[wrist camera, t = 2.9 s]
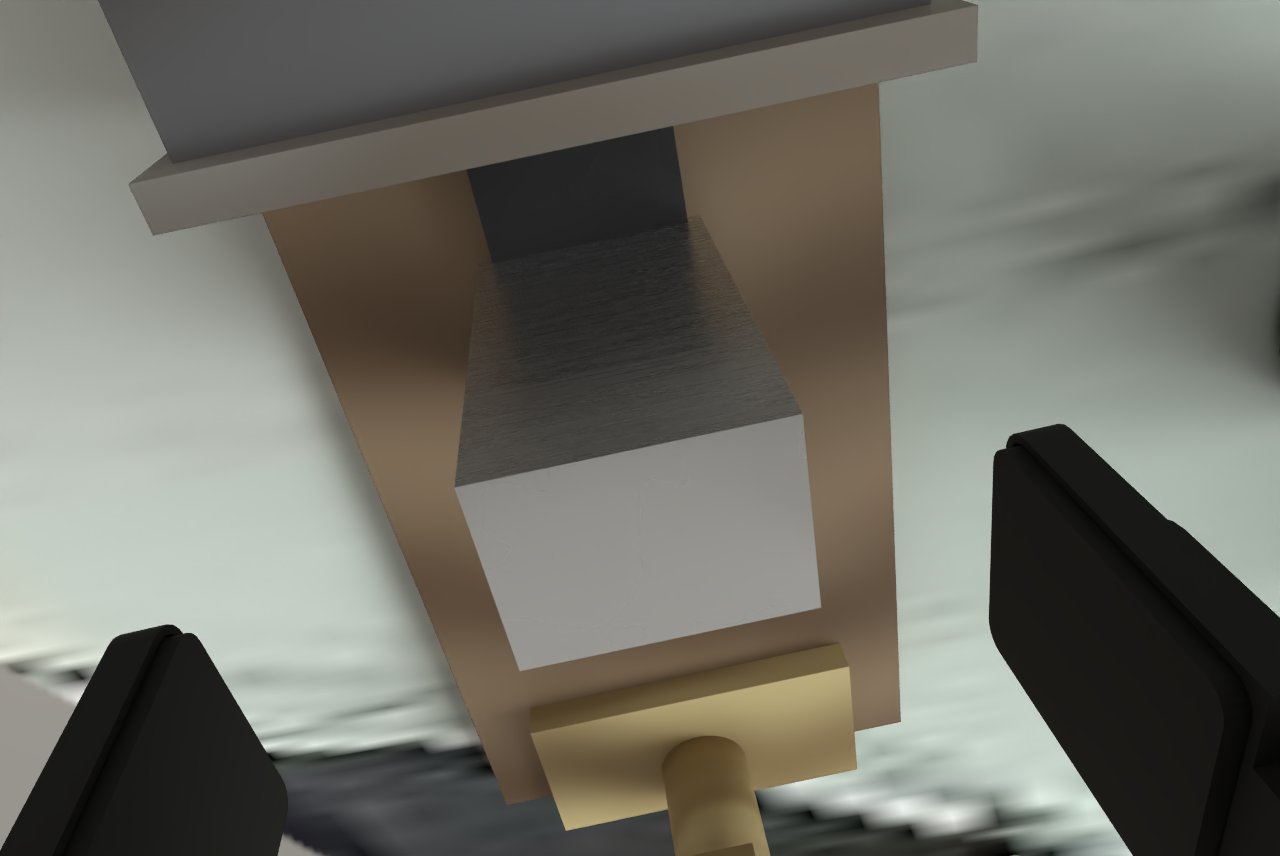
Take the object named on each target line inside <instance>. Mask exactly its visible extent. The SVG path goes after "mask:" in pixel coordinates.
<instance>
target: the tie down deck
mask: <svg viewBox="0 0 1280 856" xmlns="http://www.w3.org/2000/svg"><path fill="white" fill-rule="evenodd" d="M98 1H99V3H100V6H101V8H102V10H103V12H104V14H105V17H106V19H107V21H108V23H109V25H110V28H111V30H112V32H113V34H114V36H115V39H116V41H117V43H118V45H119V47H120V50H121V52H122V54H123V56H124V58H125V61H126V63H127V65H128V67H129V69H130V72H131V74H132V76H133V78H134V80H135V83H136V85H137V87H138V89H139V91H140V94H141V96H142V98H143V100H144V102H145V104H146V107H147V109H148V111H149V113H150V115H151V118H152V120H153V122H154V124H155V126H156V129H157V131H158V133H159V135H160V137H161V140H162V142H163V144H164V146H165V148H166V151H167V154H166V155H165V156H163V157H162V158H161V159H160V160H158V161H157V162H156V163H155V164H153V165H152V166H151V167H150V168H148V169H147V170H146V171H144V172H143V173H142V174H141V175H139V176H138V177H137V178H136V179H134V180H133V181H132V182H131V183H129V184H128V185H129V187H130V189H131V191H132V193H133V195H134V197H135V199H136V201H137V203H138V205H139V207H140V209H141V211H142V214H143V216H144V218H145V220H146V222H147V224H148V226H149V228H150V230H151V232H152V234H153V235H158V234H163V233H167V232H172V231H177V230H181V229H186V228H191V227H196V226H200V225H205V224H210V223H215V222H219V221H224V220H229V219H234V218H238V217H243V216H248V215H253V214H257V213H262V214H263V216H264V218H265V221H266V223H267V226H268V228H269V230H270V233H271V235H272V238H273V240H274V243H275V245H276V247H277V250H278V252H279V255H280V257H281V259H282V262H283V264H284V267H285V269H286V272H287V274H288V276H289V279H290V281H291V284H292V286H293V288H294V291H295V293H296V296H297V298H298V301H299V303H300V305H301V308H302V310H303V313H304V315H305V317H306V320H307V322H308V325H309V327H310V330H311V332H312V334H313V337H314V339H315V342H316V344H317V347H318V349H319V351H320V354H321V356H322V359H323V361H324V363H325V366H326V368H327V371H328V373H329V376H330V378H331V380H332V383H333V385H334V388H335V390H336V392H337V395H338V397H339V400H340V402H341V405H342V407H343V409H344V412H345V414H346V417H347V419H348V421H349V424H350V426H351V429H352V431H353V434H354V436H355V438H356V441H357V443H358V446H359V448H360V450H361V453H362V455H363V458H364V460H365V463H366V465H367V467H368V470H369V472H370V475H371V477H372V479H373V482H374V484H375V487H376V489H377V492H378V494H379V496H380V499H381V501H382V504H383V506H384V508H385V511H386V513H387V516H388V518H389V521H390V523H391V525H392V528H393V530H394V533H395V535H396V537H397V540H398V542H399V545H400V547H401V550H402V552H403V554H404V557H405V559H406V562H407V564H408V566H409V569H410V571H411V574H412V576H413V579H414V581H415V583H416V586H417V588H418V591H419V593H420V595H421V598H422V600H423V603H424V605H425V608H426V610H427V612H428V615H429V617H430V620H431V622H432V624H433V627H434V629H435V632H436V634H437V637H438V639H439V641H440V644H441V646H442V649H443V651H444V653H445V656H446V658H447V661H448V663H449V666H450V668H451V670H452V673H453V675H454V678H455V680H456V682H457V685H458V687H459V690H460V692H461V695H462V697H463V699H464V702H465V704H466V707H467V709H468V711H469V714H470V716H471V719H472V721H473V724H474V726H475V728H476V731H477V733H478V736H479V738H480V740H481V743H482V745H483V748H484V750H485V753H486V755H487V757H488V760H489V762H490V765H491V767H492V769H493V772H494V774H495V777H496V779H497V782H498V784H499V786H500V789H501V791H502V794H503V796H504V798H505V801H506V803H507V805H509V804H514V803H519V802H523V801H528V800H533V799H538V798H542V797H547V796H552V795H553V796H554V799H555V802H556V805H557V807H558V810H559V813H560V816H561V818H562V821H563V824H564V826H565V829H566V831H567V830H571V829H576V828H581V827H586V826H590V825H595V824H600V823H605V822H609V821H614V820H619V819H623V818H628V817H633V816H638V815H642V814H647V813H652V812H657V811H661V810H666V809H668V812H669V818H670V825H671V831H672V838H673V844H674V851H675V856H770V852H769V848H768V844H767V840H766V836H765V832H764V828H763V824H762V820H761V817H760V813H759V809H758V805H757V801H756V797H755V793H754V791H756V790H761V789H766V788H770V787H775V786H780V785H784V784H789V783H794V782H799V781H803V780H808V779H813V778H818V777H822V776H827V775H832V774H837V773H841V772H846V771H851V770H856V769H857V762H856V749H855V736H854V732H855V731H860V730H864V729H869V728H874V727H879V726H883V725H888V724H893V723H898V722H901V717H900V688H899V660H898V631H897V602H896V574H895V545H894V517H893V488H892V459H891V431H890V402H889V374H888V345H887V316H886V288H885V259H884V230H883V202H882V173H881V145H880V116H879V87H878V82H883V81H888V80H893V79H897V78H902V77H907V76H911V75H916V74H921V73H926V72H930V71H935V70H940V69H945V68H949V67H954V66H959V65H964V64H968V63H973V62H977V21H978V5H976V4H972V3H969V2H965V1H962V0H98ZM670 126H673V128H674V134H675V141H676V147H677V154H678V160H679V167H680V173H681V180H682V186H683V193H684V199H685V206H686V212H687V217H691V216H696V215H700V216H701V218H702V220H703V222H704V224H705V226H706V228H707V230H708V232H709V234H710V236H711V238H712V240H713V241H714V243H715V245H716V247H717V249H718V251H719V253H720V255H721V257H722V259H723V261H724V263H725V265H726V267H727V269H728V270H729V272H730V274H731V276H732V278H733V280H734V282H735V284H736V286H737V288H738V290H739V292H740V294H741V296H742V298H743V299H744V301H745V303H746V305H747V307H748V309H749V311H750V313H751V315H752V317H753V319H754V321H755V323H756V325H757V327H758V328H759V330H760V332H761V334H762V336H763V338H764V340H765V342H766V344H767V346H768V348H769V350H770V352H771V354H772V356H773V358H774V359H775V361H776V363H777V365H778V367H779V369H780V371H781V373H782V375H783V377H784V379H785V381H786V383H787V385H788V387H789V388H790V390H791V392H792V394H793V396H794V398H795V400H796V402H797V404H798V406H799V408H800V410H801V412H802V414H803V422H804V433H805V443H806V454H807V464H808V474H809V485H810V495H811V506H812V516H813V527H814V537H815V548H816V558H817V569H818V579H819V590H820V600H821V608H817V609H812V610H808V611H803V612H798V613H793V614H789V615H784V616H779V617H775V618H770V619H765V620H760V621H756V622H751V623H746V624H741V625H737V626H732V627H727V628H722V629H718V630H713V631H708V632H703V633H699V634H694V635H689V636H685V637H680V638H675V639H670V640H666V641H661V642H656V643H651V644H647V645H642V646H637V647H632V648H628V649H623V650H618V651H613V652H609V653H604V654H599V655H595V656H590V657H585V658H580V659H576V660H571V661H566V662H561V663H557V664H552V665H547V666H542V667H538V668H533V669H528V670H523V671H519V668H518V665H517V662H516V659H515V657H514V654H513V651H512V648H511V645H510V643H509V640H508V637H507V634H506V631H505V628H504V626H503V623H502V620H501V617H500V614H499V612H498V609H497V606H496V603H495V600H494V598H493V595H492V592H491V589H490V586H489V584H488V581H487V578H486V575H485V572H484V570H483V567H482V564H481V561H480V558H479V555H478V553H477V550H476V547H475V544H474V541H473V539H472V536H471V533H470V530H469V527H468V525H467V522H466V519H465V516H464V513H463V511H462V508H461V505H460V502H459V499H458V497H457V494H456V491H455V488H454V486H455V477H456V468H457V459H458V450H459V440H460V431H461V422H462V413H463V404H464V395H465V386H466V377H467V368H468V359H469V350H470V341H471V332H472V323H473V314H474V305H475V295H476V286H477V277H478V268H479V261H483V260H487V259H491V256H490V252H489V249H488V245H487V242H486V238H485V234H484V231H483V227H482V224H481V220H480V217H479V213H478V210H477V206H476V203H475V199H474V195H473V192H472V188H471V185H470V181H469V178H468V174H467V171H466V169H471V168H475V167H480V166H485V165H490V164H494V163H499V162H504V161H509V160H513V159H518V158H523V157H528V156H532V155H537V154H542V153H546V152H551V151H556V150H561V149H565V148H570V147H575V146H580V145H584V144H589V143H594V142H599V141H603V140H608V139H613V138H618V137H622V136H627V135H632V134H637V133H641V132H646V131H651V130H655V129H660V128H665V127H670Z"/></svg>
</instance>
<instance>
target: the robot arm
mask: <svg viewBox="0 0 1280 856" xmlns="http://www.w3.org/2000/svg"><path fill="white" fill-rule="evenodd" d="M989 625H990V630H991V634H992V637H993V640H994V642H995V645H996V647H997V649H998V650H999V652H1000V654H1001V655H1002V657H1003V658H1004V660H1005V661H1006V663H1007V664H1008V666H1009V667H1010V669H1011V670H1012V672H1013V673H1014V675H1015V676H1016V678H1017V680H1018V681H1019V683H1020V684H1021V686H1022V687H1023V689H1024V690H1025V692H1026V693H1027V695H1028V696H1029V698H1030V699H1031V701H1032V702H1033V704H1034V705H1035V707H1036V709H1037V710H1038V712H1039V713H1040V715H1041V716H1042V718H1043V719H1044V721H1045V722H1046V724H1047V725H1048V727H1049V728H1050V730H1051V731H1052V733H1053V734H1054V736H1055V737H1056V739H1057V741H1058V742H1059V744H1060V745H1061V747H1062V748H1063V750H1064V751H1065V753H1066V754H1067V756H1068V757H1069V759H1070V760H1071V762H1072V763H1073V765H1074V766H1075V768H1076V770H1077V771H1078V773H1079V774H1080V776H1081V777H1082V779H1083V780H1084V782H1085V783H1086V785H1087V786H1088V788H1089V789H1090V791H1091V792H1092V794H1093V795H1094V797H1095V798H1096V800H1097V802H1098V803H1099V805H1100V806H1101V808H1102V809H1103V811H1104V812H1105V814H1106V815H1107V817H1108V818H1109V820H1110V821H1111V823H1112V824H1113V826H1114V827H1115V829H1116V830H1117V832H1118V834H1119V835H1120V837H1121V838H1122V840H1123V841H1124V843H1125V844H1126V846H1127V847H1128V849H1129V850H1130V852H1131V853H1132V855H1133V856H1280V617H1278V616H1277V615H1276V614H1275V613H1274V612H1273V611H1272V610H1271V609H1270V608H1269V607H1268V606H1267V605H1266V604H1264V603H1263V602H1262V601H1261V600H1260V599H1259V598H1258V597H1257V596H1256V595H1255V594H1254V593H1253V592H1252V591H1251V590H1249V589H1248V588H1247V587H1246V586H1245V585H1244V584H1243V583H1242V582H1241V581H1240V580H1239V579H1238V578H1237V577H1235V576H1234V575H1233V574H1232V573H1231V572H1230V571H1229V570H1228V569H1227V568H1226V567H1225V566H1224V565H1223V564H1221V563H1220V562H1219V561H1218V560H1217V559H1216V558H1215V557H1214V556H1213V555H1212V554H1211V553H1210V552H1209V551H1207V550H1206V549H1205V548H1204V547H1203V546H1202V545H1201V544H1200V543H1199V542H1198V541H1197V540H1196V539H1195V538H1194V537H1192V536H1191V535H1190V534H1189V533H1188V532H1187V531H1186V530H1185V529H1183V528H1182V527H1181V526H1179V525H1178V524H1176V523H1175V522H1174V521H1170V520H1167V519H1166V518H1165V517H1164V516H1163V515H1162V514H1161V513H1160V512H1159V511H1158V510H1156V509H1155V508H1154V507H1153V506H1152V505H1151V504H1150V503H1149V502H1148V501H1147V500H1146V499H1145V498H1144V497H1143V496H1142V495H1141V494H1139V493H1138V492H1137V491H1136V490H1135V489H1134V488H1133V487H1132V486H1131V485H1130V484H1129V483H1128V482H1127V481H1126V480H1125V479H1123V478H1122V477H1121V476H1120V475H1119V474H1118V473H1117V472H1116V471H1115V470H1114V469H1113V468H1112V467H1111V466H1110V465H1109V464H1108V463H1106V462H1105V461H1104V460H1103V459H1102V458H1101V457H1100V456H1099V455H1098V454H1097V453H1096V452H1095V451H1094V450H1093V449H1092V448H1091V447H1089V446H1088V445H1087V444H1086V443H1085V442H1084V441H1083V440H1082V439H1081V438H1080V437H1079V436H1078V435H1077V434H1076V433H1075V432H1073V431H1072V430H1071V429H1070V428H1069V427H1067V426H1066V425H1064V424H1056V425H1051V426H1047V427H1042V428H1038V429H1033V430H1029V431H1025V432H1020V433H1016V434H1013V435H1011V436H1010V437H1009V439H1008V441H1007V445H1006V449H1002V450H999V451H997V452H996V454H995V456H994V462H993V495H992V530H991V564H990V599H989ZM287 811H288V797H287V791H286V787H285V784H284V782H283V779H282V778H281V776H280V774H279V773H278V771H277V769H276V768H275V766H274V764H273V763H272V761H271V759H270V758H269V756H268V754H267V753H266V751H265V749H264V748H263V746H262V744H261V742H260V741H259V739H258V737H257V736H256V734H255V732H254V731H253V729H252V727H251V726H250V724H249V722H248V721H247V719H246V717H245V716H244V714H243V712H242V711H241V709H240V707H239V705H238V704H237V702H236V700H235V699H234V697H233V695H232V694H231V692H230V690H229V689H228V687H227V685H226V684H225V682H224V680H223V679H222V677H221V675H220V674H219V672H218V670H217V669H216V667H215V665H214V663H213V662H212V660H211V658H210V657H209V655H208V653H207V652H206V650H205V648H204V647H203V645H202V643H201V642H200V640H199V639H198V638H197V636H195V635H194V634H192V633H185V634H183V633H182V632H181V631H180V629H179V628H177V627H176V626H174V625H162V626H158V627H153V628H149V629H144V630H140V631H136V632H131V633H127V634H122V635H119V636H117V637H116V638H114V639H113V640H112V641H111V643H110V644H109V645H108V647H107V649H106V651H105V653H104V655H103V657H102V659H101V661H100V662H99V664H98V666H97V668H96V670H95V672H94V674H93V676H92V678H91V680H90V681H89V683H88V685H87V687H86V689H85V691H84V693H83V695H82V697H81V698H80V700H79V702H78V704H77V706H76V708H75V710H74V712H73V714H72V716H71V717H70V719H69V721H68V724H67V725H66V727H65V729H64V731H63V733H62V735H61V736H60V738H59V740H58V742H57V744H56V746H55V748H54V750H53V752H52V754H51V756H50V757H49V759H48V761H47V763H46V765H45V767H44V769H43V771H42V773H41V774H40V776H39V778H38V780H37V782H36V784H35V786H34V788H33V789H32V791H31V793H30V795H29V797H28V799H27V801H26V803H25V805H24V807H23V808H22V810H21V812H20V814H19V816H18V818H17V820H16V822H15V824H14V826H13V827H12V830H11V831H10V833H9V835H8V837H7V839H6V841H5V843H4V844H3V846H2V849H1V850H0V856H277V855H278V851H279V847H280V842H281V838H282V834H283V830H284V825H285V821H286V817H287Z"/></svg>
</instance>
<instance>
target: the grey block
mask: <svg viewBox="0 0 1280 856" xmlns="http://www.w3.org/2000/svg"><path fill="white" fill-rule="evenodd" d="M466 171H467V174H468V178H469V181H470V185H471V188H472V192H473V195H474V199H475V203H476V206H477V210H478V213H479V217H480V220H481V224H482V227H483V231H484V234H485V238H486V242H487V245H488V249H489V252H490V256H491V259H487V260H483V261H479V268H478V277H477V286H476V295H475V305H474V314H473V323H472V332H471V341H470V350H469V359H468V368H467V377H466V386H465V395H464V404H463V413H462V422H461V431H460V440H459V450H458V459H457V468H456V477H455V486H454V488H455V491H456V494H457V497H458V499H459V502H460V505H461V508H462V511H463V513H464V516H465V519H466V522H467V525H468V527H469V530H470V533H471V536H472V539H473V541H474V544H475V547H476V550H477V553H478V555H479V558H480V561H481V564H482V567H483V570H484V572H485V575H486V578H487V581H488V584H489V586H490V589H491V592H492V595H493V598H494V600H495V603H496V606H497V609H498V612H499V614H500V617H501V620H502V623H503V626H504V628H505V631H506V634H507V637H508V640H509V643H510V645H511V648H512V651H513V654H514V657H515V659H516V662H517V665H518V668H519V671H523V670H528V669H533V668H538V667H542V666H547V665H552V664H557V663H561V662H566V661H571V660H576V659H580V658H585V657H590V656H595V655H599V654H604V653H609V652H613V651H618V650H623V649H628V648H632V647H637V646H642V645H647V644H651V643H656V642H661V641H666V640H670V639H675V638H680V637H685V636H689V635H694V634H699V633H703V632H708V631H713V630H718V629H722V628H727V627H732V626H737V625H741V624H746V623H751V622H756V621H760V620H765V619H770V618H775V617H779V616H784V615H789V614H793V613H798V612H803V611H808V610H812V609H817V608H821V600H820V590H819V579H818V569H817V558H816V548H815V537H814V527H813V516H812V506H811V495H810V485H809V474H808V464H807V454H806V443H805V433H804V422H803V414H802V412H801V410H800V408H799V406H798V404H797V402H796V400H795V398H794V396H793V394H792V392H791V390H790V388H789V387H788V385H787V383H786V381H785V379H784V377H783V375H782V373H781V371H780V369H779V367H778V365H777V363H776V361H775V359H774V358H773V356H772V354H771V352H770V350H769V348H768V346H767V344H766V342H765V340H764V338H763V336H762V334H761V332H760V330H759V328H758V327H757V325H756V323H755V321H754V319H753V317H752V315H751V313H750V311H749V309H748V307H747V305H746V303H745V301H744V299H743V298H742V296H741V294H740V292H739V290H738V288H737V286H736V284H735V282H734V280H733V278H732V276H731V274H730V272H729V270H728V269H727V267H726V265H725V263H724V261H723V259H722V257H721V255H720V253H719V251H718V249H717V247H716V245H715V243H714V241H713V240H712V238H711V236H710V234H709V232H708V230H707V228H706V226H705V224H704V222H703V220H702V218H701V216H700V215H696V216H691V217H687V212H686V206H685V199H684V193H683V186H682V180H681V173H680V167H679V160H678V154H677V147H676V141H675V134H674V128H673V126H670V127H665V128H660V129H655V130H651V131H646V132H641V133H637V134H632V135H627V136H622V137H618V138H613V139H608V140H603V141H599V142H594V143H589V144H584V145H580V146H575V147H570V148H565V149H561V150H556V151H551V152H546V153H542V154H537V155H532V156H528V157H523V158H518V159H513V160H509V161H504V162H499V163H494V164H490V165H485V166H480V167H475V168H471V169H466Z"/></svg>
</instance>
